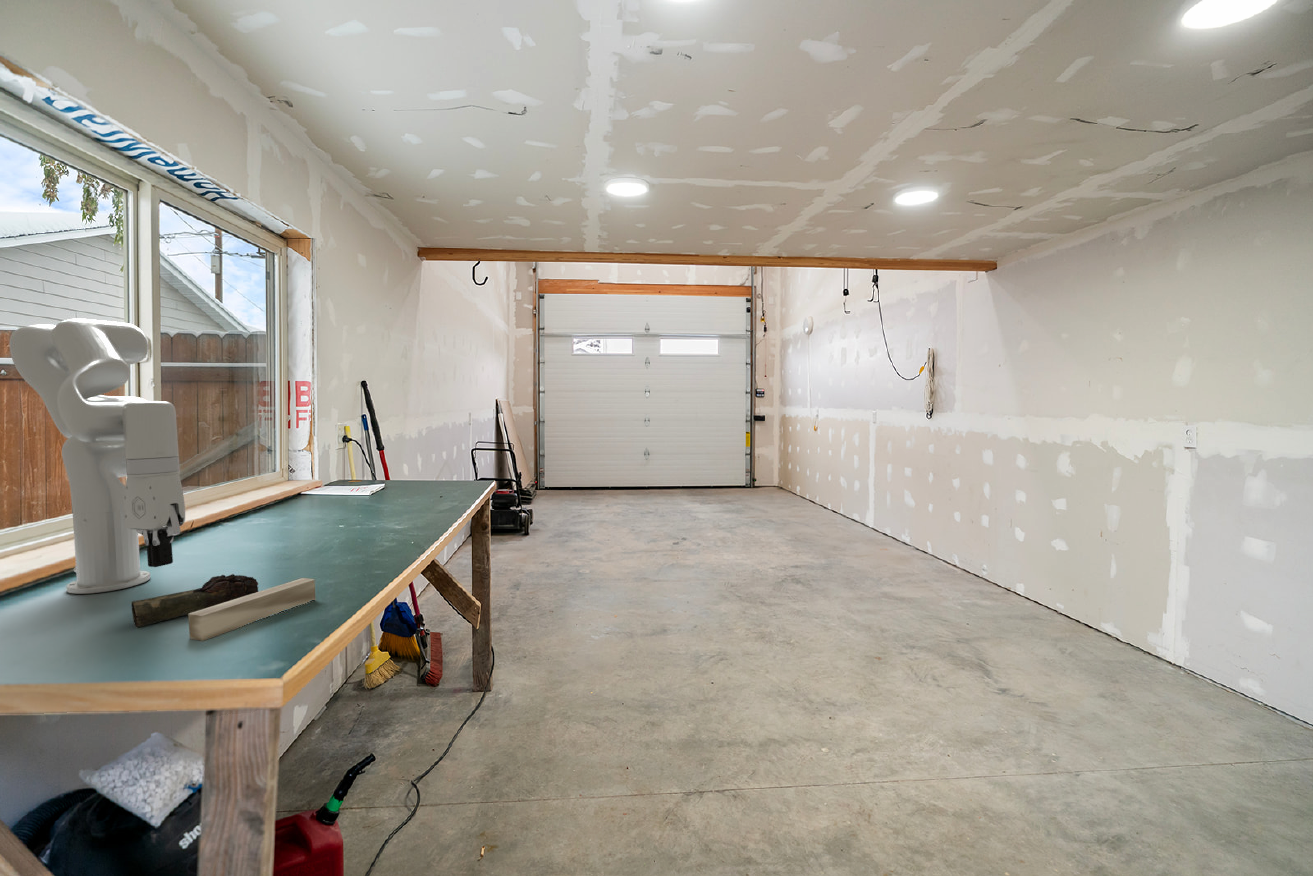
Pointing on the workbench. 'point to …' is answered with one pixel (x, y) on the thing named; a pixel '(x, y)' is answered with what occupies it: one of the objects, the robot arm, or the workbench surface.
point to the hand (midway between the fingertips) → (160, 565)
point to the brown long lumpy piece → (192, 599)
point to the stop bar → (249, 608)
